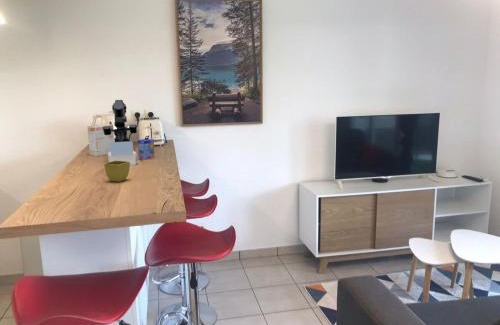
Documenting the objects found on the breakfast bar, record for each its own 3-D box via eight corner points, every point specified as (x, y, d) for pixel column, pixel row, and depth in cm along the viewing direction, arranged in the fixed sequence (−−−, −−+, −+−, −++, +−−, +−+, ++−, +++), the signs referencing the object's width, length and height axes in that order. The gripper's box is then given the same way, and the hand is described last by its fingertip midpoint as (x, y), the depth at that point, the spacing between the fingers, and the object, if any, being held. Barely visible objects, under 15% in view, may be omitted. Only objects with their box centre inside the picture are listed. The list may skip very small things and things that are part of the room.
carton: (109, 162, 243) (108, 152, 242) (135, 161, 248) (135, 150, 246) (108, 166, 231) (108, 155, 230) (136, 165, 236) (136, 153, 235)
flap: (111, 154, 230) (110, 142, 231) (133, 153, 234) (132, 141, 234) (111, 154, 230) (110, 142, 230) (133, 153, 233) (132, 141, 234)
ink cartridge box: (145, 160, 250) (144, 136, 247) (138, 159, 252) (136, 136, 250) (155, 157, 259) (153, 134, 256) (147, 157, 261) (146, 134, 258)
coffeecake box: (109, 152, 280) (106, 124, 276) (115, 153, 276) (113, 124, 272) (89, 155, 268) (86, 126, 264) (95, 156, 264) (93, 126, 260)
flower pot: (131, 179, 201) (130, 161, 199) (120, 183, 193) (119, 164, 191) (116, 178, 204) (115, 160, 202) (104, 182, 196) (103, 163, 194)
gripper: (101, 112, 238) (102, 134, 230) (134, 110, 242) (136, 131, 235) (104, 124, 247) (104, 145, 239) (136, 122, 252) (137, 143, 244)
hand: (120, 141), depth 239 cm, fingers closed
